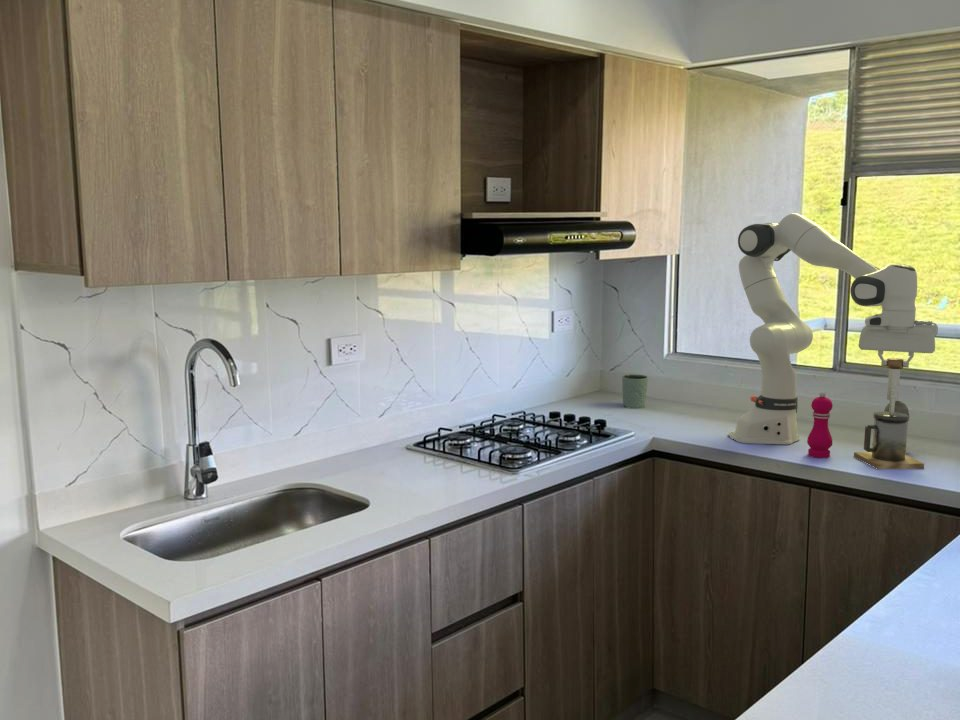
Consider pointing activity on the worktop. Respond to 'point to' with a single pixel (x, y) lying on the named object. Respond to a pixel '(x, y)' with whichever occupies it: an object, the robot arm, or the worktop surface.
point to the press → (888, 435)
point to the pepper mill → (820, 428)
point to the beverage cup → (898, 408)
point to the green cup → (634, 390)
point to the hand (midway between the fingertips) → (894, 366)
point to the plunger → (894, 377)
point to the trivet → (889, 462)
